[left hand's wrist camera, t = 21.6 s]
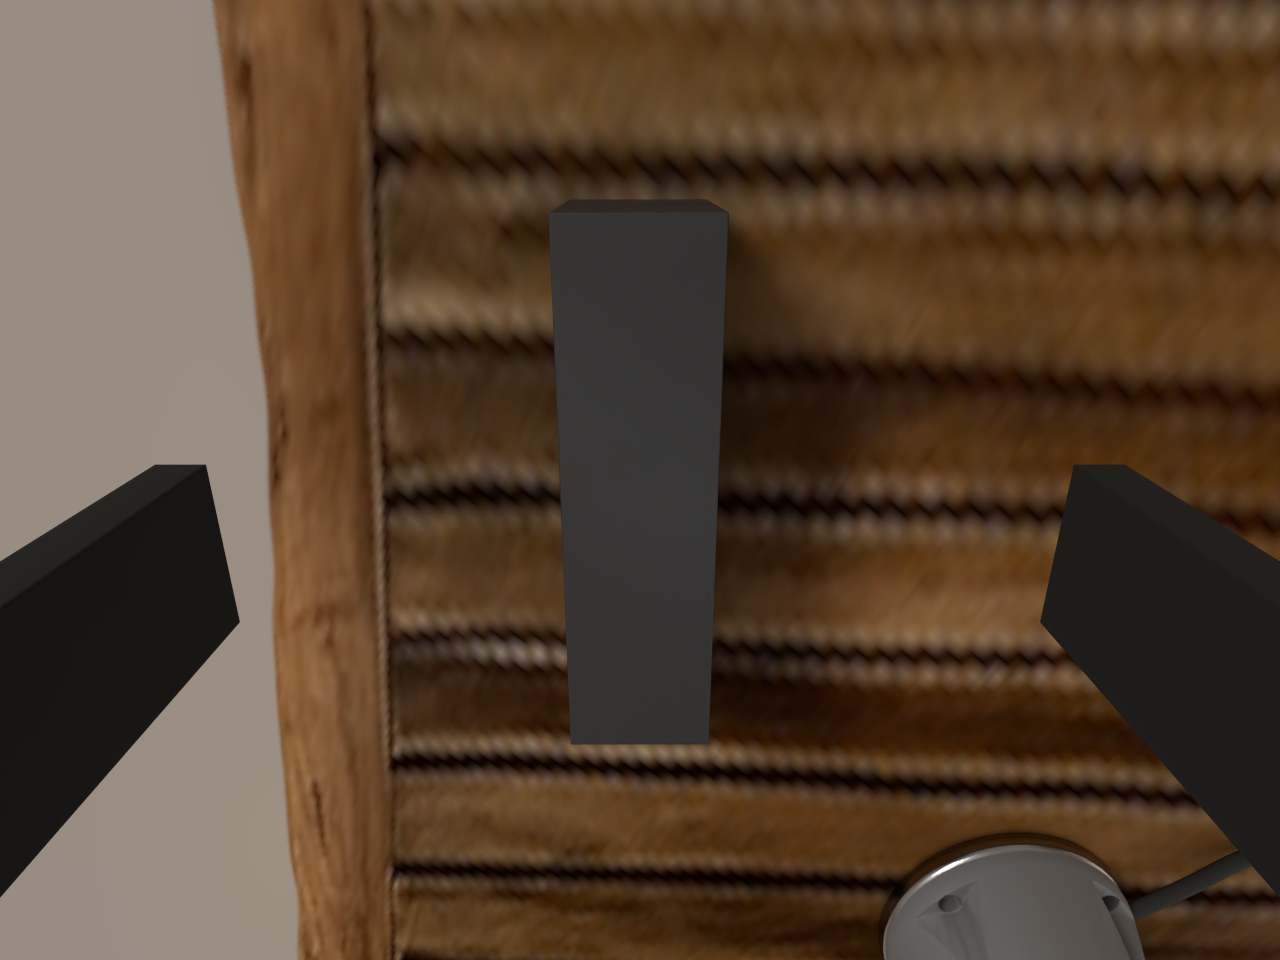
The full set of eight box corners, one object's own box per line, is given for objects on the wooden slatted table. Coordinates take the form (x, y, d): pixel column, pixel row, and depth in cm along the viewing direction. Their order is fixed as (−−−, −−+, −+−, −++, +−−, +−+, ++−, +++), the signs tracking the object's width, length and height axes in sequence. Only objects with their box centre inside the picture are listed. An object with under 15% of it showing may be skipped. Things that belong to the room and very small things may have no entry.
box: (570, 199, 35) (548, 212, 27) (707, 199, 35) (729, 212, 27) (584, 631, 43) (570, 744, 35) (695, 631, 43) (708, 744, 35)
